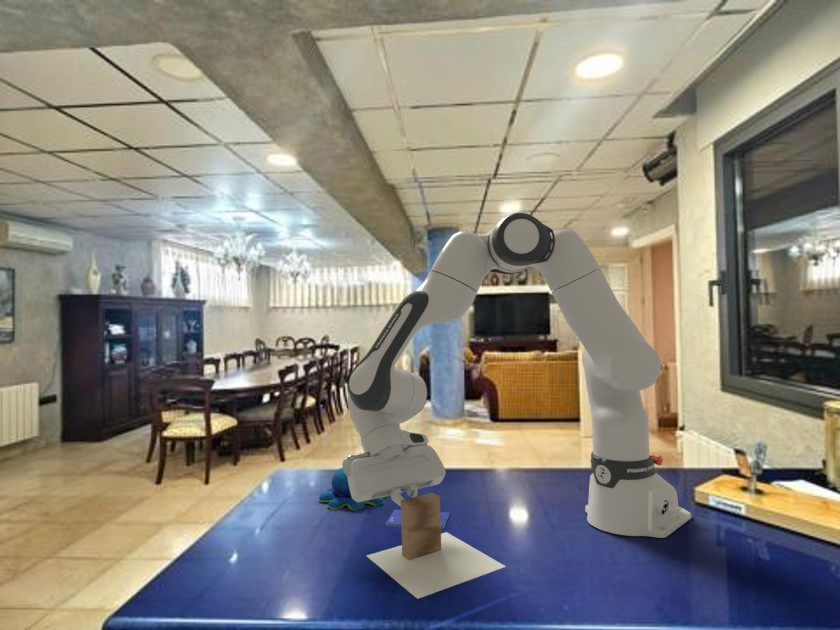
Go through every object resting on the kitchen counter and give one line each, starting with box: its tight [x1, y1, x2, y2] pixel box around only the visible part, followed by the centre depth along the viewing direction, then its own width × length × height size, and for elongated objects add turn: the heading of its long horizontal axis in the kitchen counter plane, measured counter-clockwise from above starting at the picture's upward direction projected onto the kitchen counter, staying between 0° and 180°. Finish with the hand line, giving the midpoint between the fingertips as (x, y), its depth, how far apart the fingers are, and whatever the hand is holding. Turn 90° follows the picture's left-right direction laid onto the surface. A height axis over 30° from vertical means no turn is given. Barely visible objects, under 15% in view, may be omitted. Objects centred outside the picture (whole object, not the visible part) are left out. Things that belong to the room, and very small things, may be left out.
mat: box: [366, 531, 507, 600], centre depth 92 cm, size 18×18×1 cm
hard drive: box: [385, 509, 450, 530], centre depth 111 cm, size 2×8×12 cm
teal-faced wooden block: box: [400, 492, 442, 560], centre depth 95 cm, size 7×3×10 cm, turn 122°
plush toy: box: [318, 467, 389, 511], centre depth 128 cm, size 17×17×8 cm
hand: (411, 511), depth 98 cm, fingers closed
